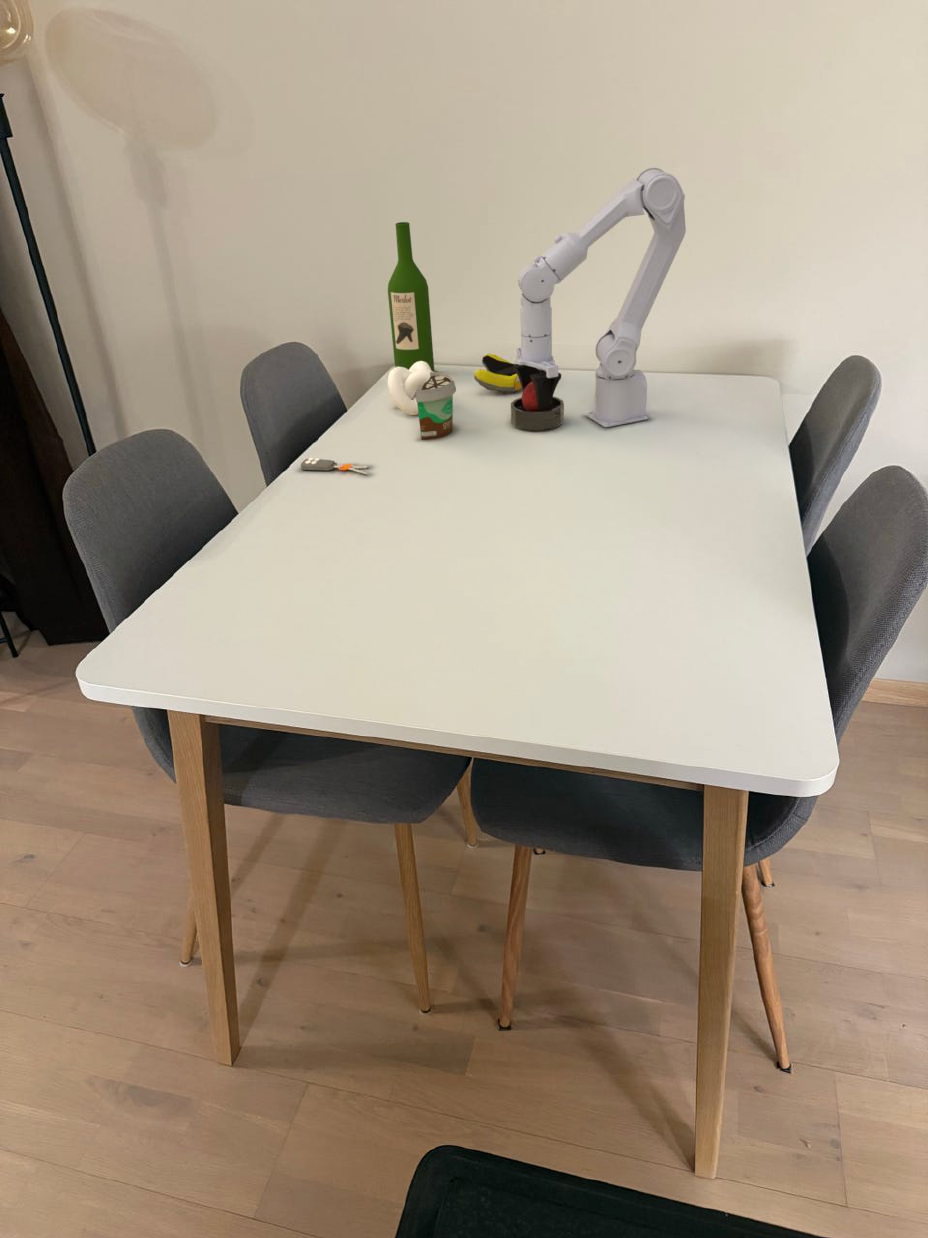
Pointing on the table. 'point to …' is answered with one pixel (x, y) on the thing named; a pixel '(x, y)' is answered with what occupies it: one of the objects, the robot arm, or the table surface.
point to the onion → (530, 398)
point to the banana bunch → (498, 375)
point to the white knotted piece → (408, 385)
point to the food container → (436, 406)
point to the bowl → (537, 416)
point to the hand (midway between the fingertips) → (537, 404)
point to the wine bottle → (409, 307)
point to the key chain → (327, 465)
